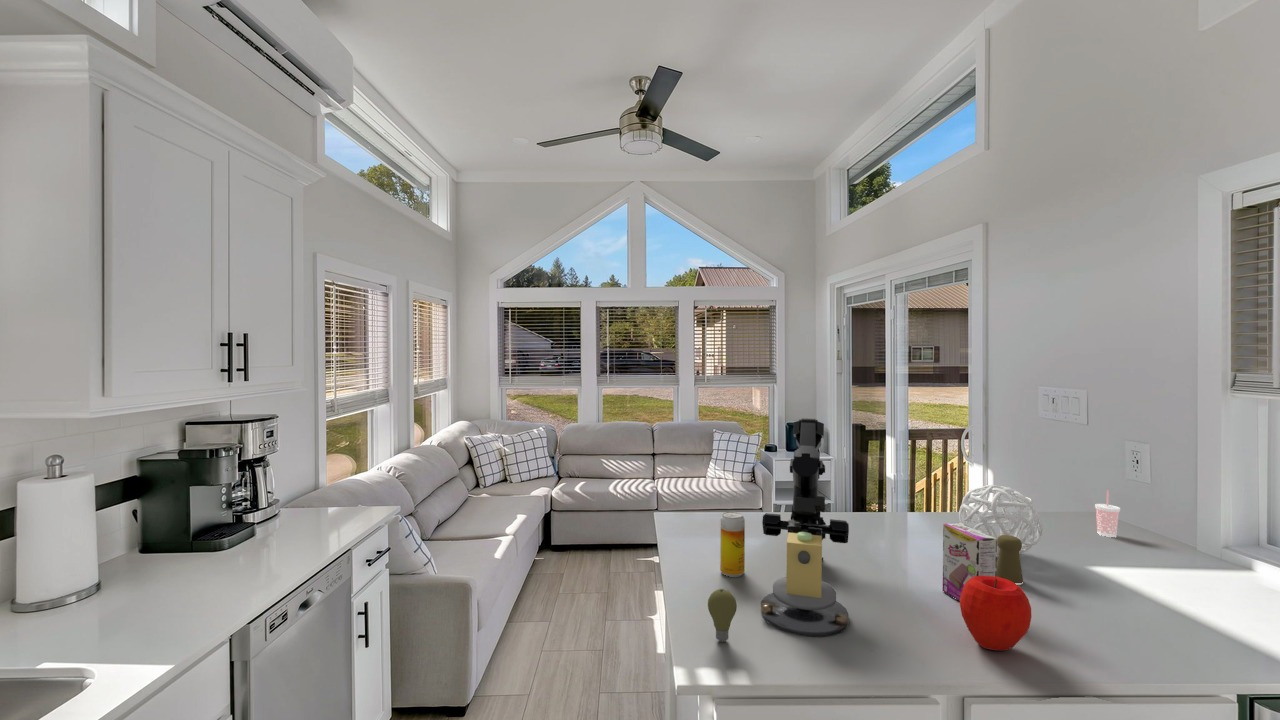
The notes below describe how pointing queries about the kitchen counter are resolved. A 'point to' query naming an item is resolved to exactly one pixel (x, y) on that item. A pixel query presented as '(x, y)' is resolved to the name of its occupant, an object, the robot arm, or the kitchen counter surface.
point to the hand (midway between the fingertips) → (803, 563)
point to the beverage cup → (1107, 518)
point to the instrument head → (804, 575)
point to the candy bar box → (966, 556)
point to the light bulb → (722, 612)
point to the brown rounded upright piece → (1009, 558)
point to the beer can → (732, 544)
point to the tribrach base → (804, 618)
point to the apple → (995, 611)
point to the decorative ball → (1019, 505)
